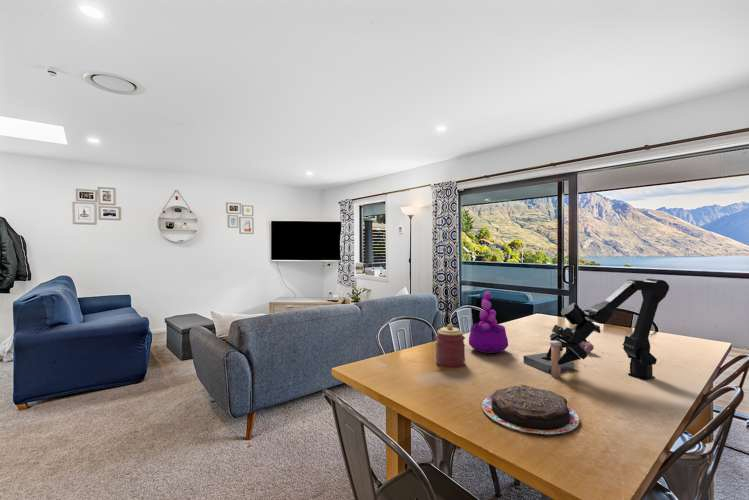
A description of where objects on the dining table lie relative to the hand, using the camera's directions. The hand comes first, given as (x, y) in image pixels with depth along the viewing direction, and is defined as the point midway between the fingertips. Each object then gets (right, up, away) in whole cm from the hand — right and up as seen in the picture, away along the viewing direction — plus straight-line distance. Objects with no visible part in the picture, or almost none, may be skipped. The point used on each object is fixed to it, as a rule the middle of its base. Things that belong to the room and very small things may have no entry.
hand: (552, 360), depth 140 cm
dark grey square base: (+5, -7, +13) cm, 16 cm away
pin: (+1, -7, 0) cm, 7 cm away
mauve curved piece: (+31, -6, +32) cm, 45 cm away
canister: (-37, -7, +18) cm, 42 cm away
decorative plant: (-14, -7, +35) cm, 39 cm away
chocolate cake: (-23, -8, -30) cm, 38 cm away
